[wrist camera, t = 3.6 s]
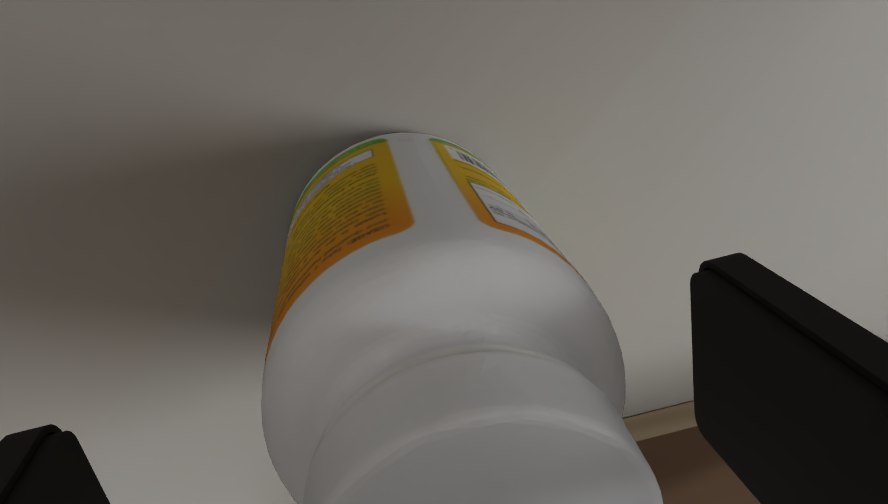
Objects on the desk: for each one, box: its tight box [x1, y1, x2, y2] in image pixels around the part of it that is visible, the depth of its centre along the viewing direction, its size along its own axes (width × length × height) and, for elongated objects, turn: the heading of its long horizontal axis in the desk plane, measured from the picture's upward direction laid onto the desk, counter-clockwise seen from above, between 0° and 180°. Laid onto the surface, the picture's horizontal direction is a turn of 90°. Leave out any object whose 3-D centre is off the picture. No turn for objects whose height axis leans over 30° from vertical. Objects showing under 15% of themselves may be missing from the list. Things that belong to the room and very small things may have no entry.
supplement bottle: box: [261, 133, 663, 504], centre depth 11 cm, size 5×5×10 cm
